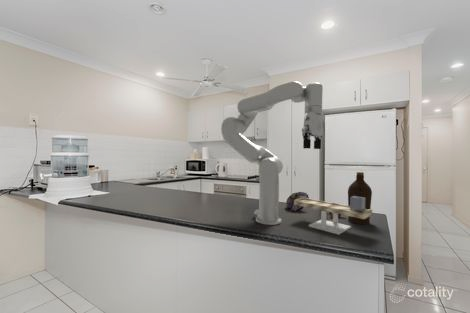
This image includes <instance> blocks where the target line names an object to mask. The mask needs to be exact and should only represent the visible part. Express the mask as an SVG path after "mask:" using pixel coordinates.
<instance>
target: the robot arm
mask: <svg viewBox="0 0 470 313" xmlns="http://www.w3.org/2000/svg"><path fill="white" fill-rule="evenodd" d="M323 92H324V91H323V85H322V84H321V82H311V83H309V84H307V85H305V86H303V84H302V83H301V82H300V81H290V82H286V83H283V84H282V83H281V84H279V85H277V86H274V87H272V88H270V89H269V90H268V91H266V92H263V93H259V94H256V95H254V96H250V97H246V98H243V99H241V100H240V101H239V102H238V103H237V110H238V113H239V115H238V117H232V116H229V117H226V118H225V119H224V120H223V121H222V123H221V128H220V130H221V135H222V137H223V139H224V141H225V142H226V144H228V145H229V146H230V147H231V148H232V149H233V150H234V151H236V152H237V153H238V154H239V155H240V156H241V157H243V159H245V160H246V161H247V162H249V163H251V164H257V165H258V175H259V176H258V177H259V198H258V204H259V205H258V209H255V211H254V212H253V214H255V215H256V216H257V217H255V222H257V223H258V224H261V225H267V226H275V225H276V226H277V225H280V224H281V223H282V218H280V217H279V210H280V209H279V205H280V204H279V202H280V177H279V176H280V173H281V172H282V171H283V169H284V168H283V167H284V166H283V165H284V164H283V162H282V161H281V159H280V158H279V157H277V155H274V153H272V152H271V151H269V150H268V149H267V148H266V147H264V146H262V145H258V144H256V143H254V142H252V141H251V140H249V139H248V138H247V137H246V136H244V135H243V134H244V133H245V132H246V131H247V130H248V129H249V127H250V126H251V124H253V121H254V120H255V118H256V117H257V115H258V113H262V112H266V111H270V110H271V109H272V108H273V107H274V106H275V105H276V104H279V103H281V102H285V101H289V100H290V101H291V102H293V103H304V118H303V119H304V120H303V127H302V128H301V133H302V134H301V135H302V139H303V143H302V144H303V146H302V147H303V149H311V140H312V139H311V137H313V138H314V140H313V149H314V150H321V148H322V137H323V135H324V126H323V116H322V114H323Z"/></svg>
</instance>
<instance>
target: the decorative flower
mask: <svg viewBox="0 0 470 313" xmlns="http://www.w3.org/2000/svg"><path fill="white" fill-rule="evenodd" d="M303 197H304V198H308V199H310V198H309V194H308V193H307V192H304V191H298V192H294V193H291V194H290V195H289V196H288V197H287V198H286V200H285V201H286V202H285V203H286V204H285V210H287V211H289V210H290V211H291V212H293V213H296V212H297V210H299V211H301V210H303V209H304V207H303V206H298V205H294V200H295V199H299V198H303Z"/></svg>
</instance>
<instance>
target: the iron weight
mask: <svg viewBox="0 0 470 313" xmlns="http://www.w3.org/2000/svg"><path fill="white" fill-rule="evenodd" d="M350 211H354V212H359V213H363V212H365V197H358V196H352V197H350Z"/></svg>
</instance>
